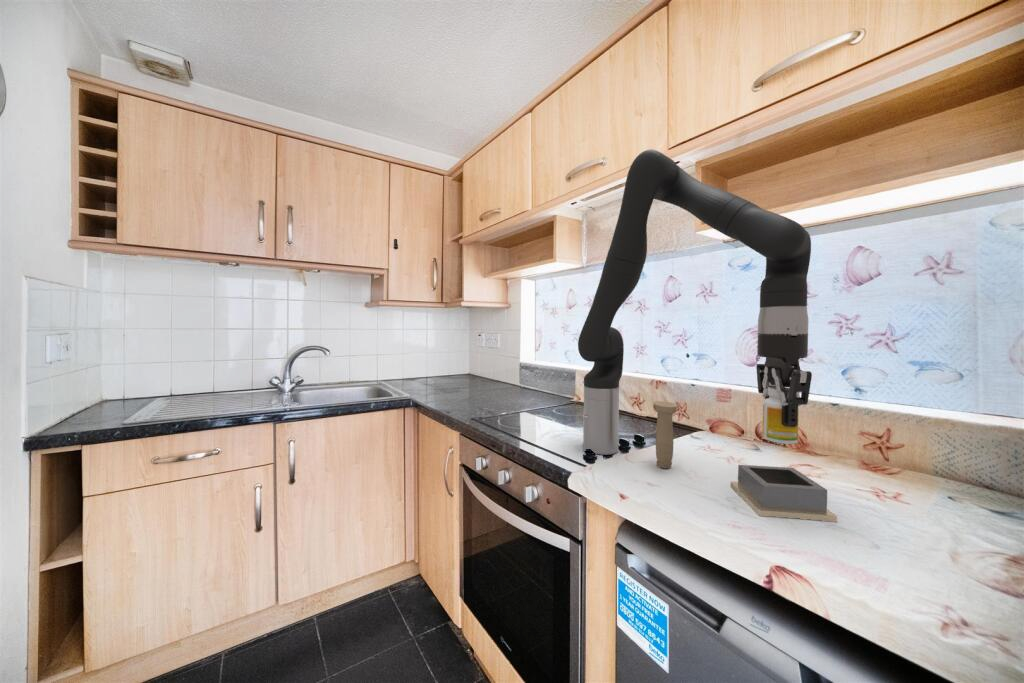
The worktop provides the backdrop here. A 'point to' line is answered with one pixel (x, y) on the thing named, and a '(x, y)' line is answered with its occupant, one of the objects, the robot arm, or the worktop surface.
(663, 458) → the handle
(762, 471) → the gray open box
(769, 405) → the supplement bottle
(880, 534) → the worktop surface
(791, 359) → the robot arm
